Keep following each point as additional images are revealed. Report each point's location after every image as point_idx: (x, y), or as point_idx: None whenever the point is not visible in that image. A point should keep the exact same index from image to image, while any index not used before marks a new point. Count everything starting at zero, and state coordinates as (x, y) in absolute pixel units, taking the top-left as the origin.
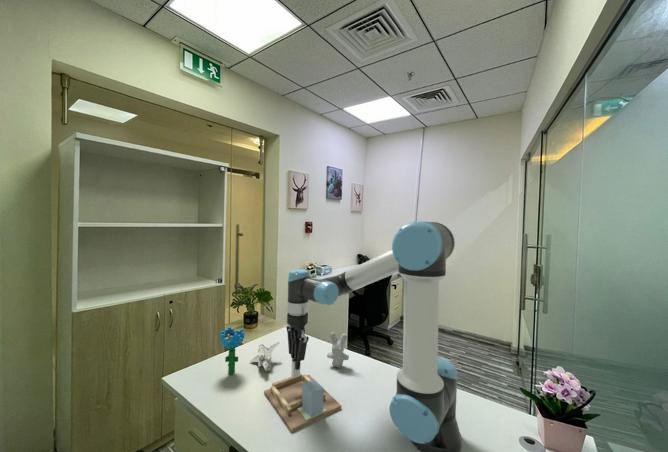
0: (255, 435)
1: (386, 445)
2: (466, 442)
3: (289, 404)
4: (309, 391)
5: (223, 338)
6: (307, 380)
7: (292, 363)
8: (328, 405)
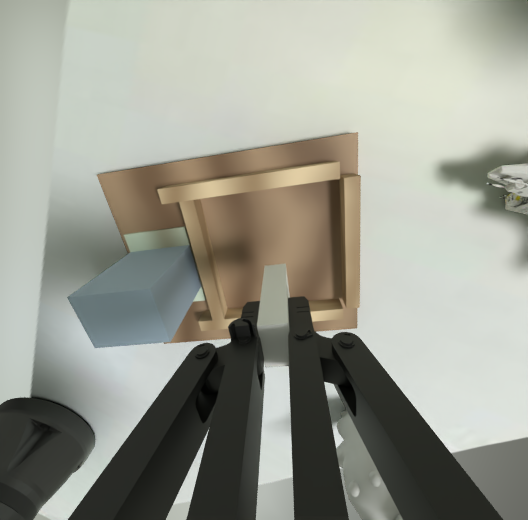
0: (120, 34)
1: (36, 359)
2: None
3: (185, 203)
4: (90, 292)
5: None
6: None
7: (277, 306)
8: None
